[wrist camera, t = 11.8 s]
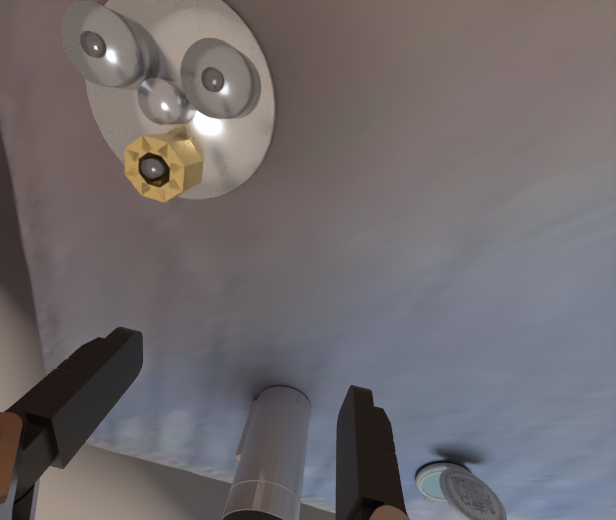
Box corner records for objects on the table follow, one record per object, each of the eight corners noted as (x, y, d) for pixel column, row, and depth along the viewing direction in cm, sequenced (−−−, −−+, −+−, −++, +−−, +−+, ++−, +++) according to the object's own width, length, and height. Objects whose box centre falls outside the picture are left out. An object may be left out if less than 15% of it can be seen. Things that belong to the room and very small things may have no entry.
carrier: (177, 224, 38) (148, 243, 32) (55, 66, 31) (-8, 55, 26) (311, 141, 32) (304, 146, 26) (196, -75, 25) (154, -130, 20)
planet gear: (174, 199, 35) (152, 210, 31) (140, 153, 33) (112, 157, 29) (213, 174, 33) (195, 182, 29) (179, 124, 31) (155, 125, 27)
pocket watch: (524, 538, 42) (475, 580, 48) (489, 458, 51) (452, 502, 58) (455, 522, 42) (415, 566, 48) (433, 445, 51) (402, 490, 58)
